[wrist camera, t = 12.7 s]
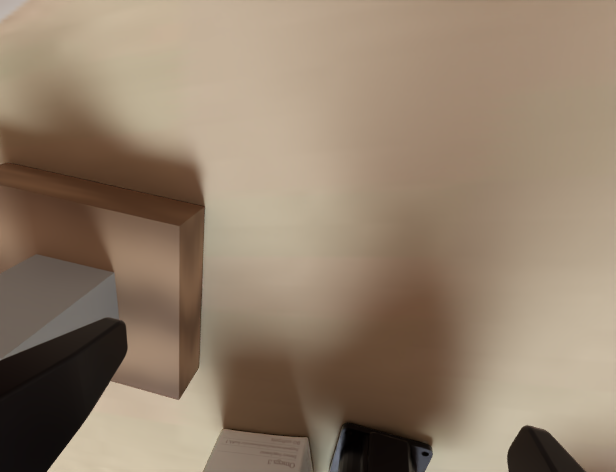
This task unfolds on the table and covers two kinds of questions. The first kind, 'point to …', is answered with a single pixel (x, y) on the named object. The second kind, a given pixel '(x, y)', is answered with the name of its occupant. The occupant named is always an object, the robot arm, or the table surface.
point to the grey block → (51, 301)
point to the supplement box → (259, 453)
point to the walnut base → (118, 262)
